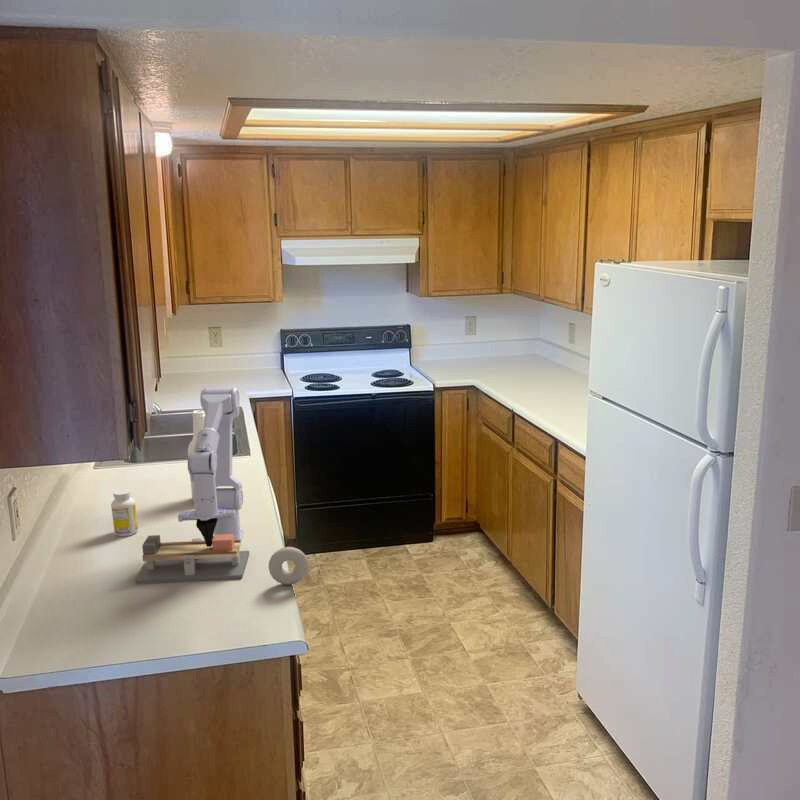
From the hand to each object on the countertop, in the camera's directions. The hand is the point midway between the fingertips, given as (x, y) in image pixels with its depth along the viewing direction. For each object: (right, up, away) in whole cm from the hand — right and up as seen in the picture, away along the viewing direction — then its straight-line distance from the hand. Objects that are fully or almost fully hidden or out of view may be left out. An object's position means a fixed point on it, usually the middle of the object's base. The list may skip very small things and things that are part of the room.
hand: (209, 545), depth 210 cm
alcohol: (-13, +5, +52) cm, 53 cm away
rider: (+4, -1, 0) cm, 4 cm away
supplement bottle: (-31, -1, +26) cm, 41 cm away
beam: (-4, -2, 0) cm, 5 cm away
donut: (+22, -8, -9) cm, 25 cm away
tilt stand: (-4, -6, +1) cm, 8 cm away
